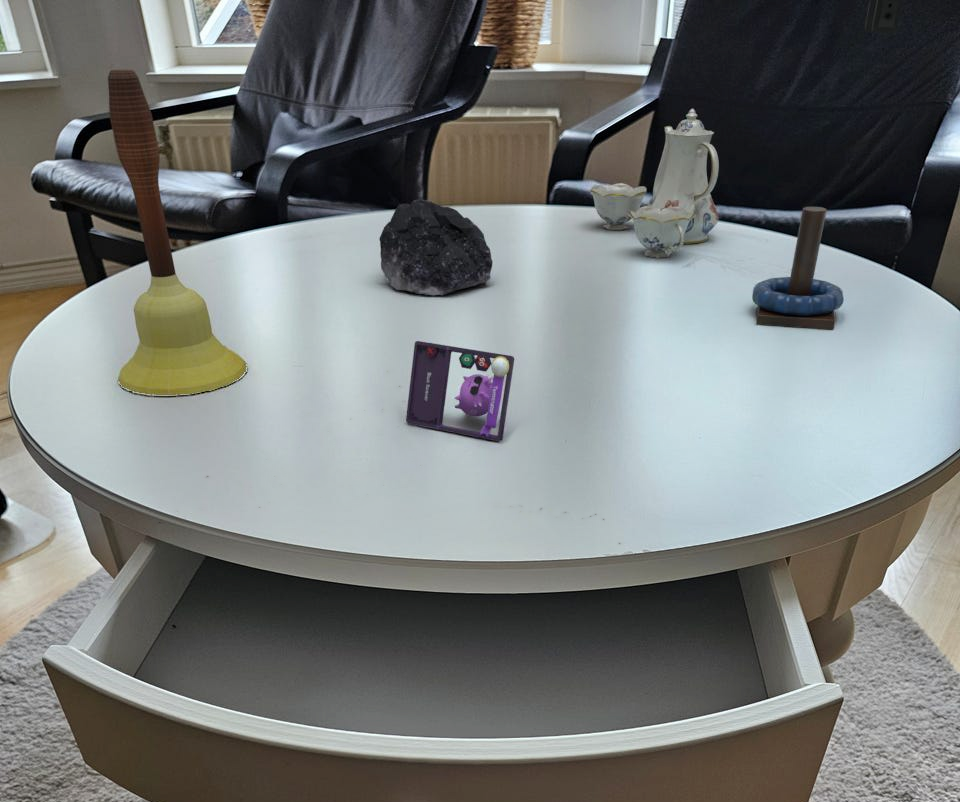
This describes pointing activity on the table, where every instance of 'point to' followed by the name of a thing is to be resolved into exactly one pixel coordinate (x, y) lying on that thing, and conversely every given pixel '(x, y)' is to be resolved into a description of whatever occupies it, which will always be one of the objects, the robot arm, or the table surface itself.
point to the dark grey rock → (433, 250)
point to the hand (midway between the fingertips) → (879, 33)
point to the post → (803, 274)
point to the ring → (797, 297)
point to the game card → (474, 391)
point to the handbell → (162, 271)
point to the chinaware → (668, 194)
